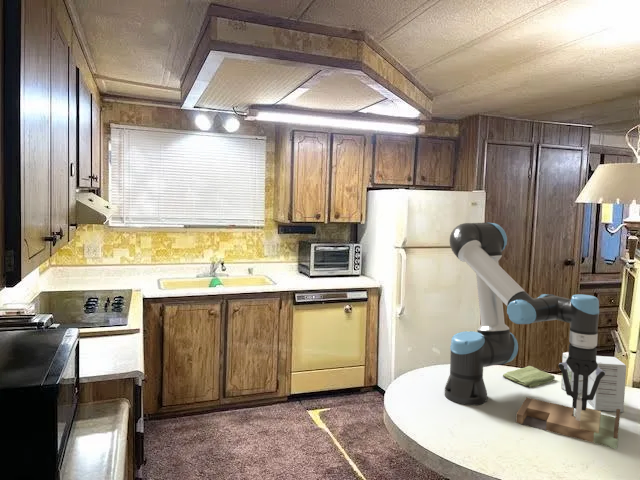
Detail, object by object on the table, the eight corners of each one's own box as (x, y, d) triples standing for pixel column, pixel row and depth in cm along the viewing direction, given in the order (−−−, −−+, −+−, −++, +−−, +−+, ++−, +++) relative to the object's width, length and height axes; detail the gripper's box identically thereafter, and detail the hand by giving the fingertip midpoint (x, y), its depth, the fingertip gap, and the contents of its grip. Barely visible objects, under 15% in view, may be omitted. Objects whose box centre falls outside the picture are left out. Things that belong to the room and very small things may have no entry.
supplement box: (624, 413, 162) (627, 365, 160) (595, 410, 163) (597, 363, 162) (613, 401, 171) (615, 356, 169) (585, 399, 173) (587, 354, 171)
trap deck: (516, 422, 154) (516, 405, 153) (525, 405, 167) (526, 389, 166) (616, 448, 138) (618, 429, 137) (619, 427, 151) (620, 409, 151)
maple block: (579, 428, 144) (580, 412, 144) (581, 422, 148) (582, 406, 148) (598, 433, 141) (599, 417, 141) (600, 426, 145) (600, 411, 145)
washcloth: (500, 378, 193) (501, 370, 193) (529, 371, 202) (530, 364, 201) (527, 389, 182) (528, 381, 182) (557, 382, 190) (558, 374, 190)
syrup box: (584, 393, 178) (586, 356, 176) (570, 394, 177) (572, 357, 175) (574, 387, 183) (576, 351, 182) (560, 388, 182) (562, 352, 181)
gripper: (557, 344, 146) (553, 417, 147) (606, 352, 138) (601, 429, 140) (561, 338, 152) (557, 409, 154) (608, 346, 144) (603, 420, 146)
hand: (578, 418), depth 147 cm, fingers closed
